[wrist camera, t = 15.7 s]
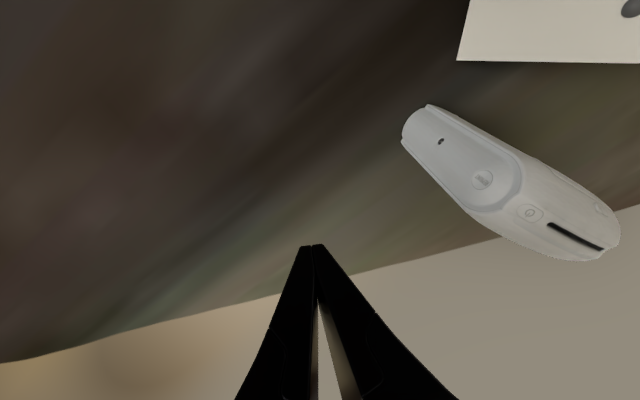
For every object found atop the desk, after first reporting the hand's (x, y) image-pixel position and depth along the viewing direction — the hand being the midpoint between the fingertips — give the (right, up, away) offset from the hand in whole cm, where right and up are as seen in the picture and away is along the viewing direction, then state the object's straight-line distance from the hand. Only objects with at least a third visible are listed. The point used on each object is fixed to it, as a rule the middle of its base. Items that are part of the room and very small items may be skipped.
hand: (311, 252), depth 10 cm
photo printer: (+12, +7, +13) cm, 19 cm away
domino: (+10, +14, +7) cm, 18 cm away
